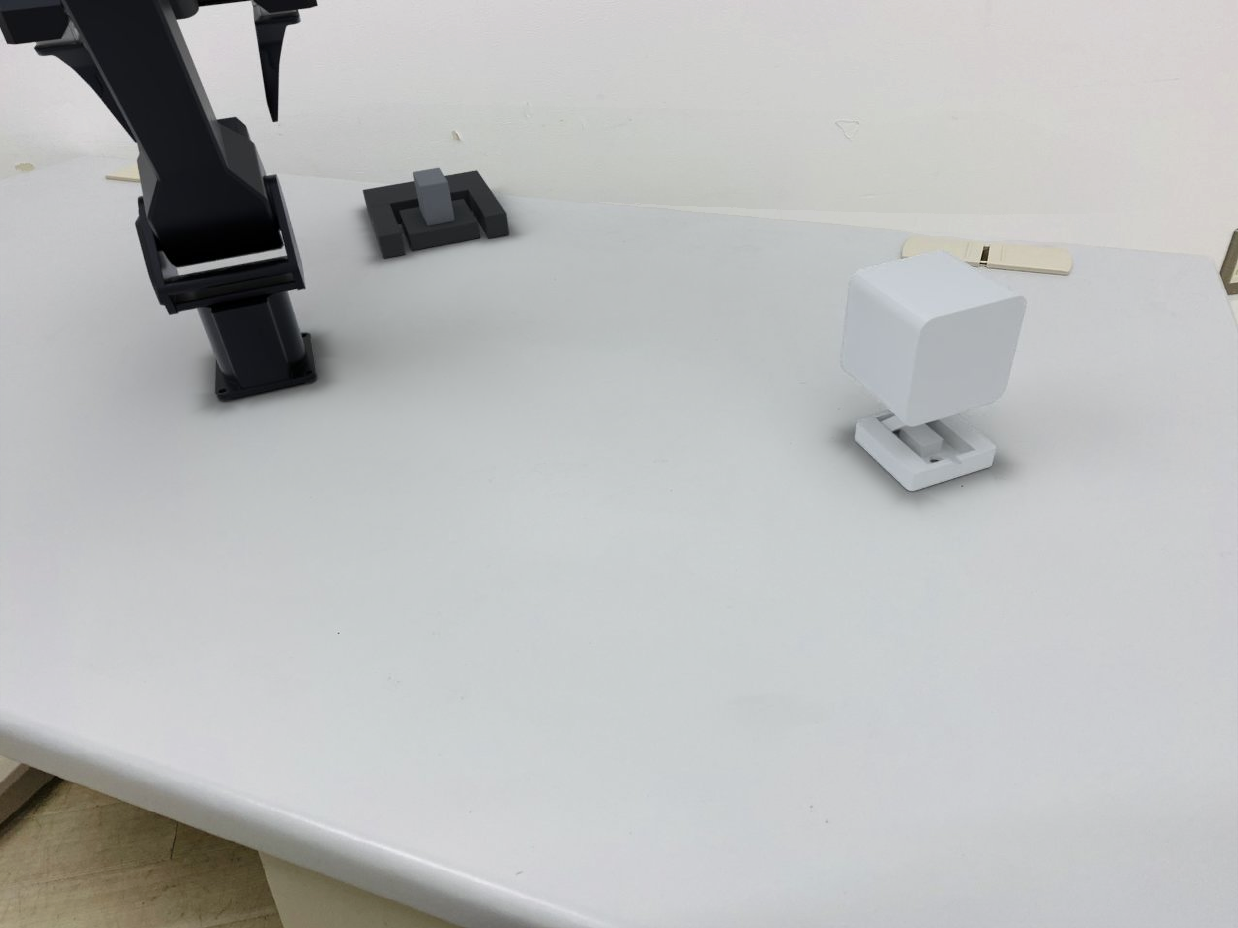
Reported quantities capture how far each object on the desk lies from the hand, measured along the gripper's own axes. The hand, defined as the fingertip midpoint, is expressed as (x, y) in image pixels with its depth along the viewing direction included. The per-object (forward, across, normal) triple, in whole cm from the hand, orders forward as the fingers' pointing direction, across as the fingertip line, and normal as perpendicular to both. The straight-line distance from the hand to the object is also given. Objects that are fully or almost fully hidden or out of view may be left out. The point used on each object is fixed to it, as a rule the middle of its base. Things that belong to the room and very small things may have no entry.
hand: (208, 131), depth 63 cm
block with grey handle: (+13, +15, +6) cm, 21 cm away
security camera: (+13, +35, -37) cm, 53 cm away
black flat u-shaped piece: (+13, +15, +9) cm, 22 cm away
